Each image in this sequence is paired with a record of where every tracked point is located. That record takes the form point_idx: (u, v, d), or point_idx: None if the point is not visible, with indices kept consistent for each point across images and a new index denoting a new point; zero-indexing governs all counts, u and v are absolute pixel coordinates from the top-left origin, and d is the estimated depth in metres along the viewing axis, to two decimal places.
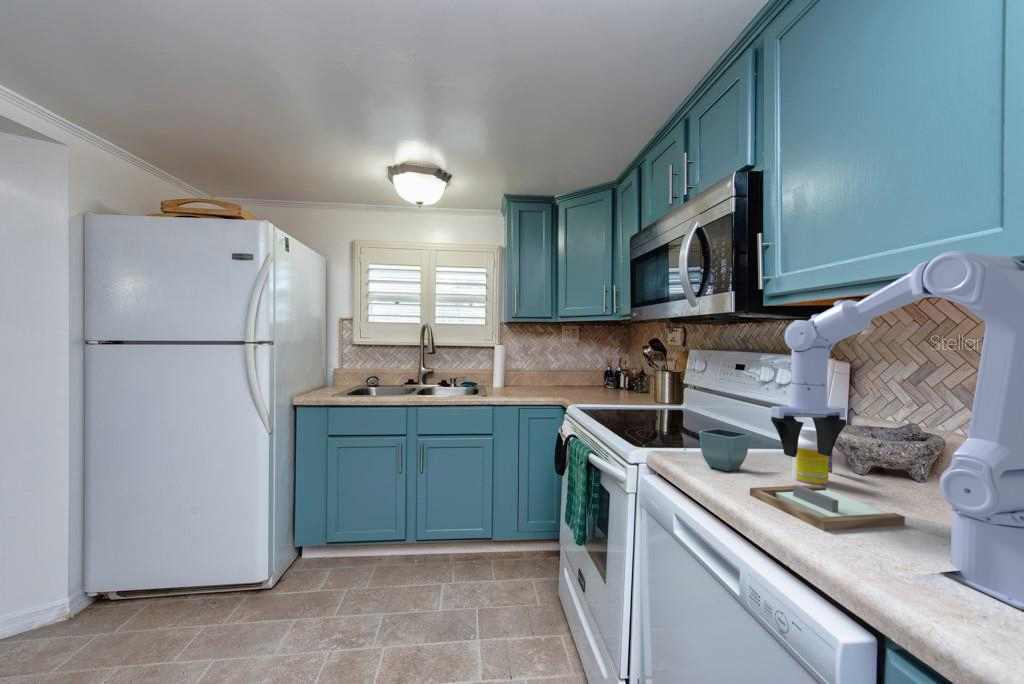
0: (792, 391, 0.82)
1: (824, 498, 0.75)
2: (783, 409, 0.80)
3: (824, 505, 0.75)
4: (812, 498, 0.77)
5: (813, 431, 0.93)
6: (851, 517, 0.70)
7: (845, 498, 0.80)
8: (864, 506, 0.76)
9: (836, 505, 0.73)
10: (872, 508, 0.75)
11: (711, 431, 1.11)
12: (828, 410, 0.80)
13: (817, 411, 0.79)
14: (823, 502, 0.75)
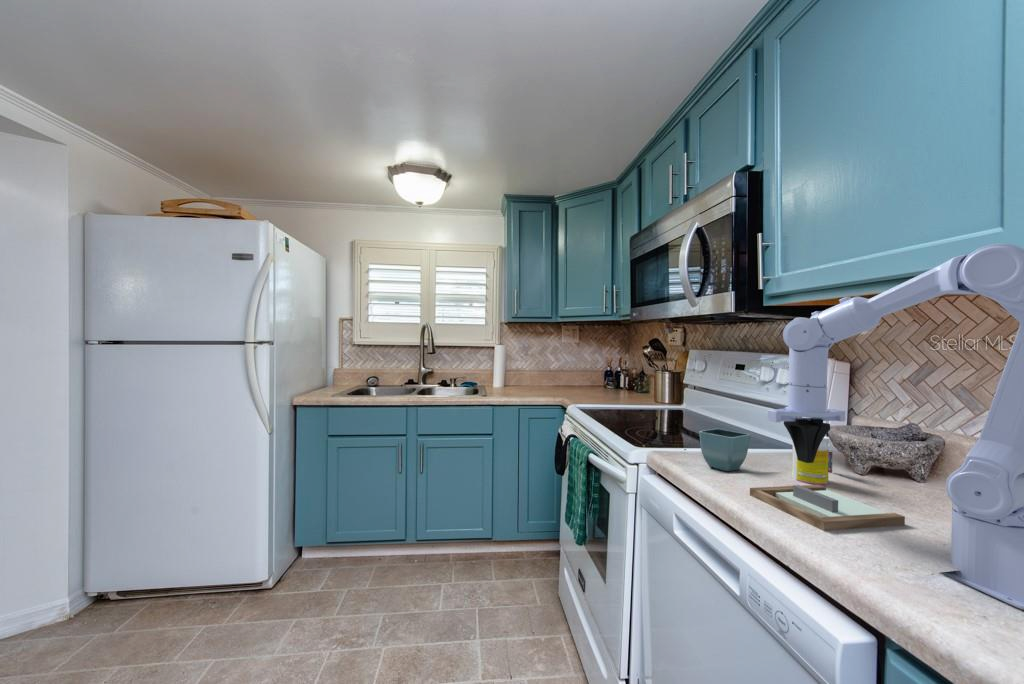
0: (789, 393, 0.77)
1: (824, 498, 0.75)
2: (780, 412, 0.75)
3: (824, 505, 0.75)
4: (812, 498, 0.77)
5: None
6: (851, 517, 0.70)
7: (845, 498, 0.80)
8: (864, 506, 0.76)
9: (836, 505, 0.73)
10: (872, 508, 0.75)
11: (711, 431, 1.11)
12: (828, 413, 0.75)
13: (816, 415, 0.74)
14: (823, 502, 0.75)
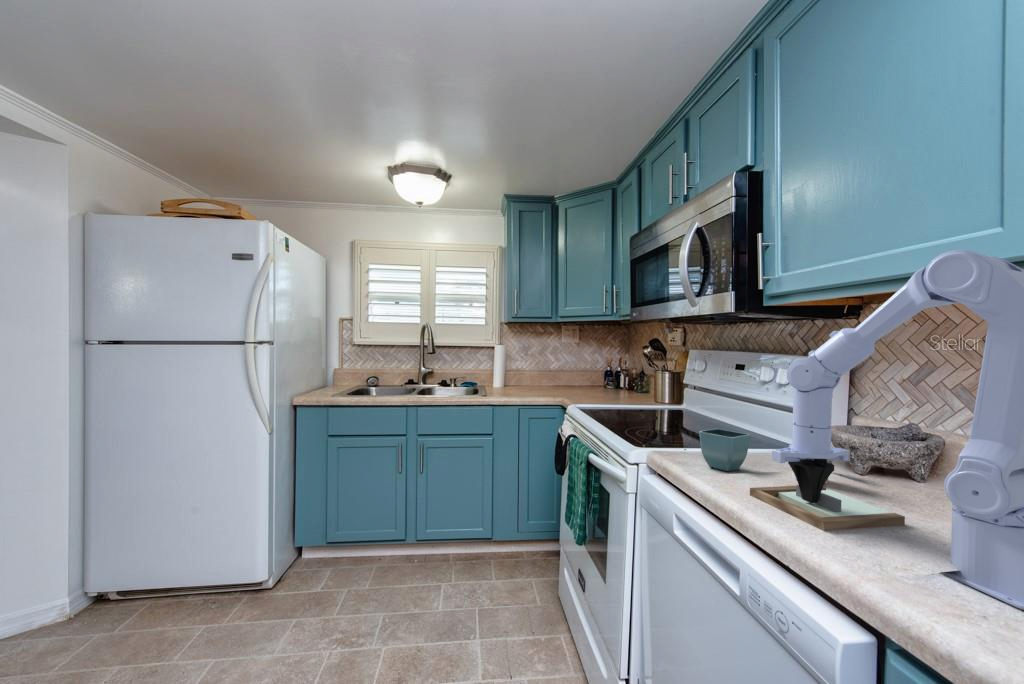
0: (794, 433, 0.77)
1: (827, 498, 0.75)
2: (784, 453, 0.75)
3: (827, 505, 0.75)
4: None
5: None
6: (851, 517, 0.70)
7: (848, 498, 0.80)
8: (867, 506, 0.77)
9: (839, 505, 0.73)
10: (875, 508, 0.76)
11: (711, 431, 1.11)
12: (832, 454, 0.75)
13: (820, 456, 0.74)
14: (826, 501, 0.75)
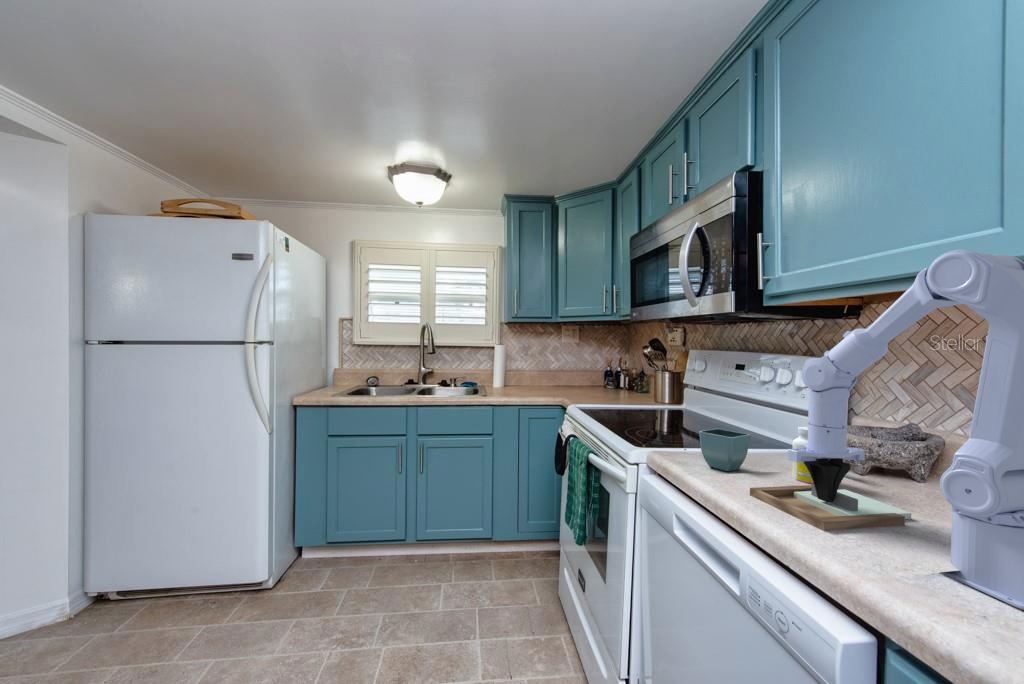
0: (809, 432, 0.78)
1: (844, 497, 0.75)
2: (801, 453, 0.75)
3: (844, 504, 0.75)
4: None
5: None
6: (851, 517, 0.70)
7: (863, 497, 0.81)
8: (883, 505, 0.77)
9: (856, 504, 0.74)
10: (891, 507, 0.76)
11: (711, 431, 1.11)
12: (848, 454, 0.75)
13: (837, 455, 0.75)
14: (842, 501, 0.76)
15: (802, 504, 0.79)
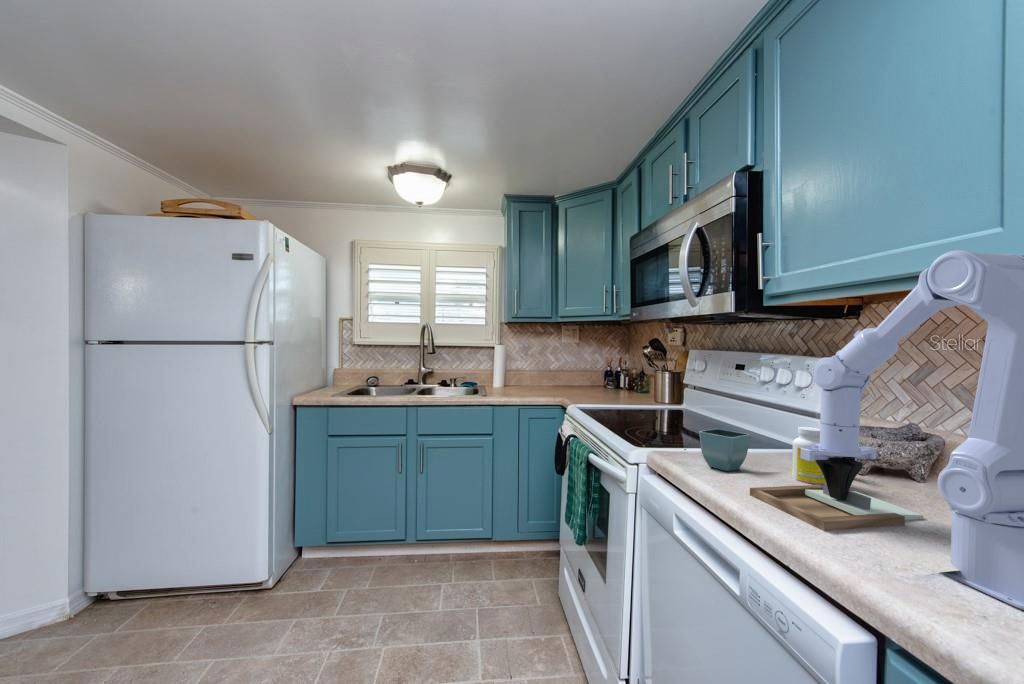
0: (822, 431, 0.79)
1: (856, 495, 0.76)
2: (814, 451, 0.76)
3: (856, 502, 0.76)
4: None
5: (813, 431, 0.93)
6: (851, 517, 0.70)
7: (874, 499, 0.81)
8: (894, 507, 0.78)
9: (869, 502, 0.74)
10: (903, 509, 0.77)
11: (711, 431, 1.11)
12: (860, 453, 0.76)
13: (849, 454, 0.75)
14: (855, 499, 0.76)
15: (802, 504, 0.79)
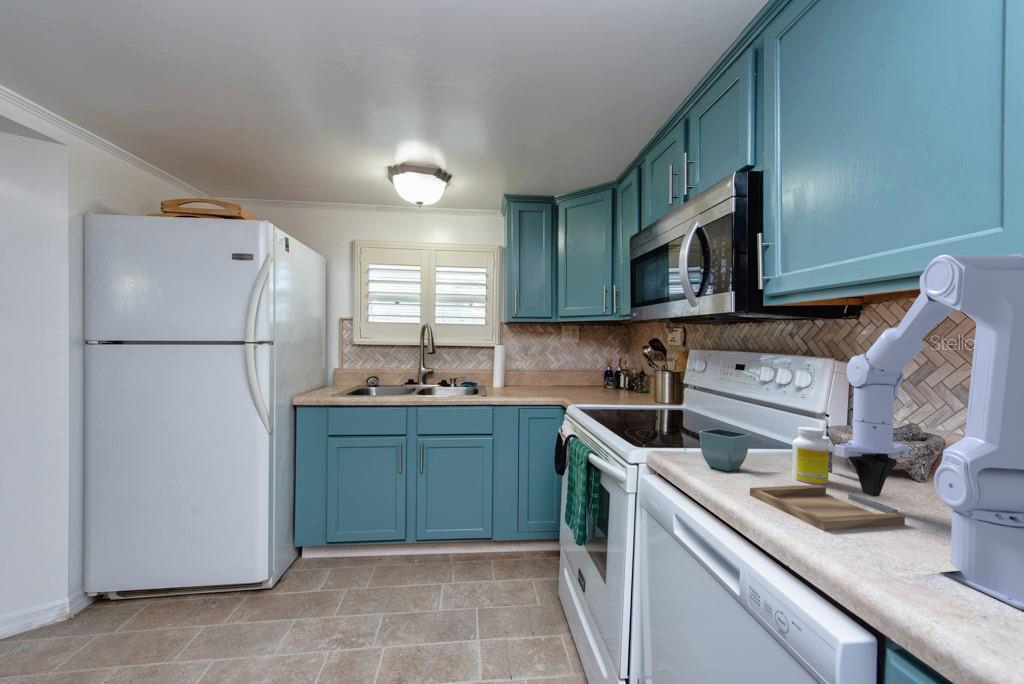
0: (855, 428, 0.80)
1: (883, 507, 0.77)
2: (848, 448, 0.77)
3: None
4: None
5: (813, 431, 0.93)
6: (851, 517, 0.70)
7: None
8: None
9: None
10: None
11: (711, 431, 1.11)
12: (894, 449, 0.77)
13: (884, 451, 0.77)
14: None
15: (802, 504, 0.79)
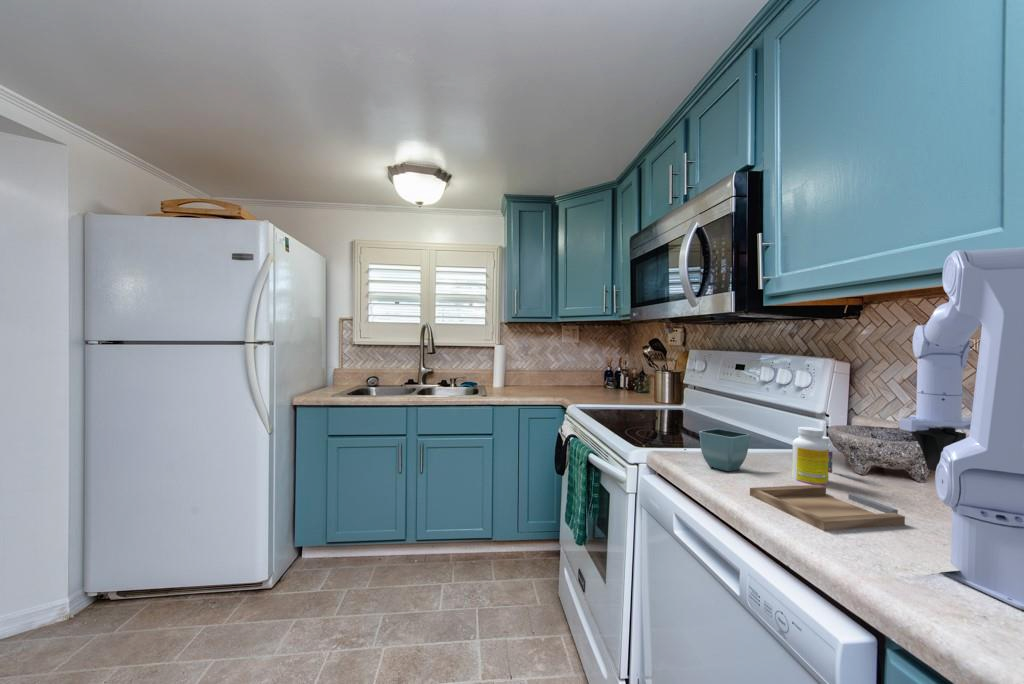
0: (920, 401, 0.76)
1: (883, 507, 0.77)
2: (916, 421, 0.73)
3: None
4: None
5: (813, 431, 0.93)
6: (851, 517, 0.70)
7: None
8: None
9: None
10: None
11: (711, 431, 1.11)
12: (964, 422, 0.73)
13: (953, 424, 0.73)
14: None
15: (802, 504, 0.79)
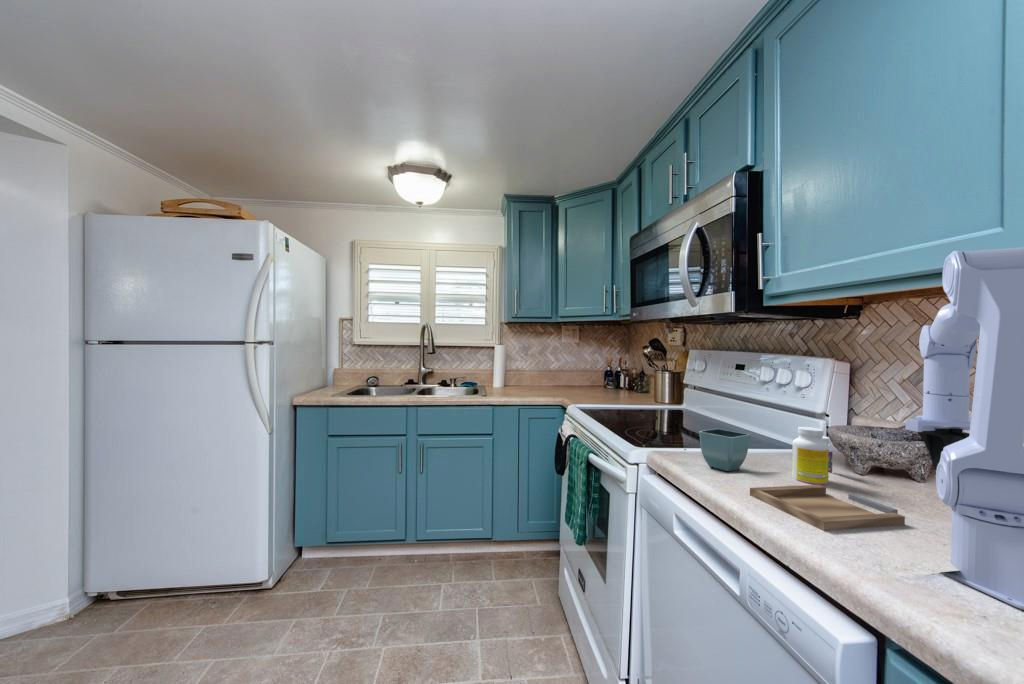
0: (927, 402, 0.76)
1: (883, 507, 0.77)
2: (922, 422, 0.73)
3: None
4: None
5: (813, 431, 0.93)
6: (851, 517, 0.70)
7: None
8: None
9: None
10: None
11: (711, 431, 1.11)
12: (971, 423, 0.73)
13: (960, 424, 0.72)
14: None
15: (802, 504, 0.79)
